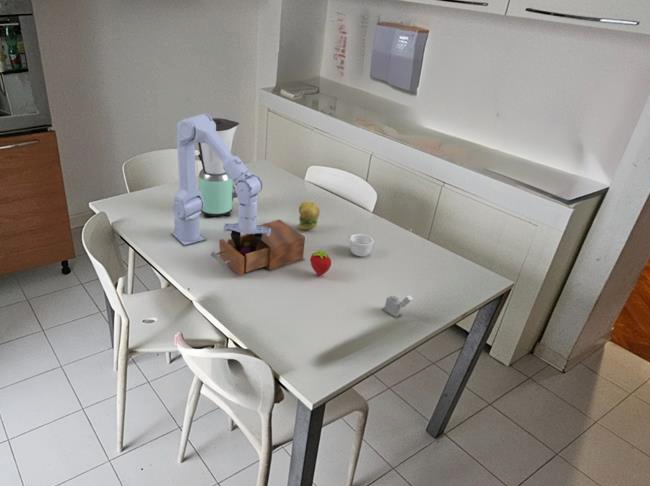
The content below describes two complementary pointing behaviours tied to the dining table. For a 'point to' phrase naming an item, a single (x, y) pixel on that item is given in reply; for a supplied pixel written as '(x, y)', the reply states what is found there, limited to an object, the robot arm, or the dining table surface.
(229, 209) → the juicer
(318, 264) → the strawberry
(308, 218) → the hamburger
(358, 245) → the teacup
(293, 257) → the cabinet
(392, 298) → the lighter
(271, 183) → the dining table surface
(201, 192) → the robot arm
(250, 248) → the mangosteen
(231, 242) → the drawer
